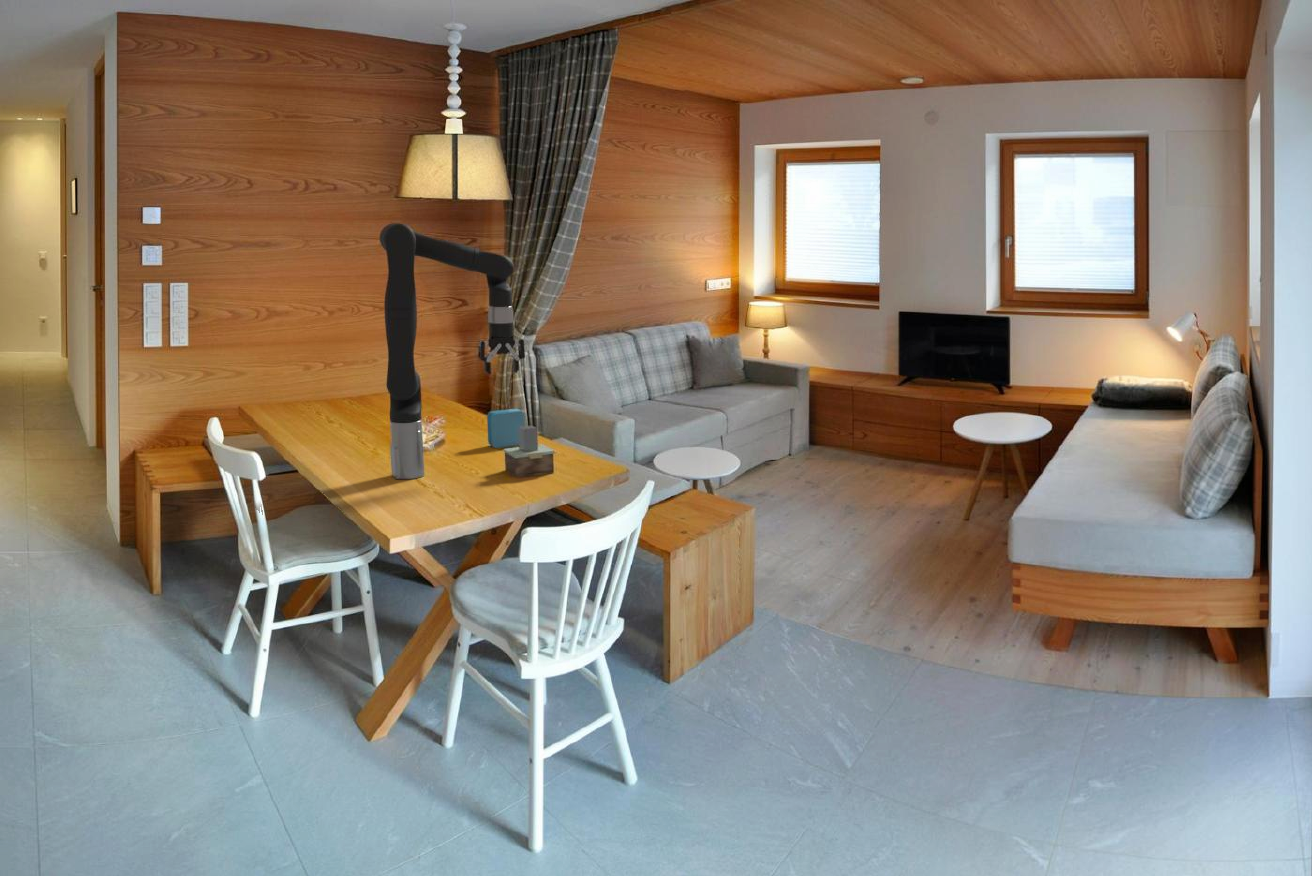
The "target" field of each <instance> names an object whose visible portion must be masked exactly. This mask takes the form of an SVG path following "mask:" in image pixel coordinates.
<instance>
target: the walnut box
mask: <svg viewBox="0 0 1312 876" xmlns="http://www.w3.org/2000/svg"><path fill="white" fill-rule="evenodd" d="M504 463H505V464H504V465H505V467H504V469H505V470H504V471H506V472H508V473H509V474H510V475H512V476H513V477H515V478H516V479H517V478H525V477H526V478H527V477H531V476H540V475H547V474H548V473H549V474H554V473H553V472H554V471H555V470H554V454H546V455H542V458H535V459H529V457H521V458H514V457H512V456H511V455H509V454H507V453H505V452H504Z"/></svg>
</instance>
